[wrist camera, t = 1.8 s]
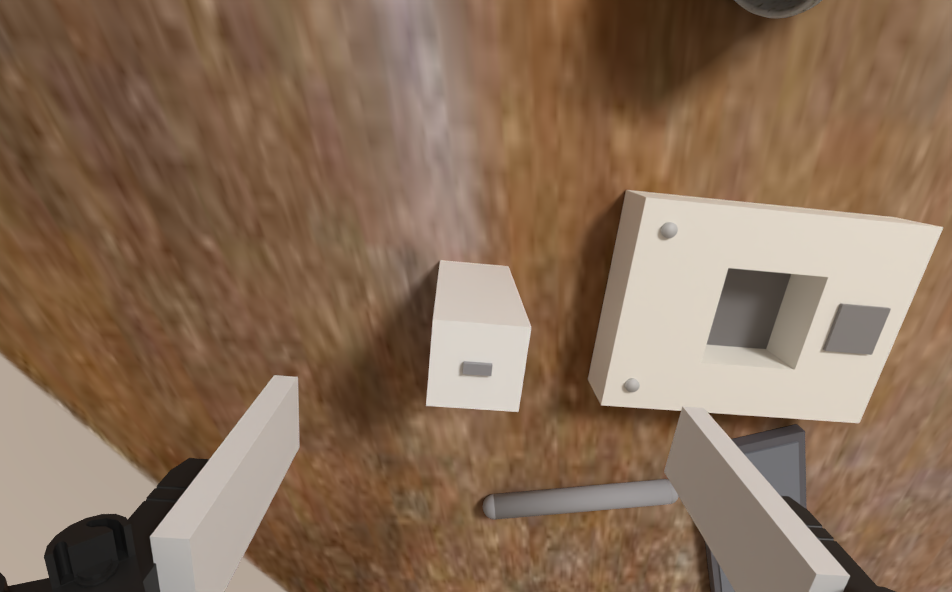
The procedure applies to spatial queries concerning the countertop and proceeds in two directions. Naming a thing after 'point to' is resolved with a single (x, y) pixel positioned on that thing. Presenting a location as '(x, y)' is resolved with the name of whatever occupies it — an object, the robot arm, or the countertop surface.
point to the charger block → (477, 339)
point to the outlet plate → (753, 306)
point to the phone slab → (769, 476)
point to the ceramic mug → (777, 7)
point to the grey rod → (579, 499)
